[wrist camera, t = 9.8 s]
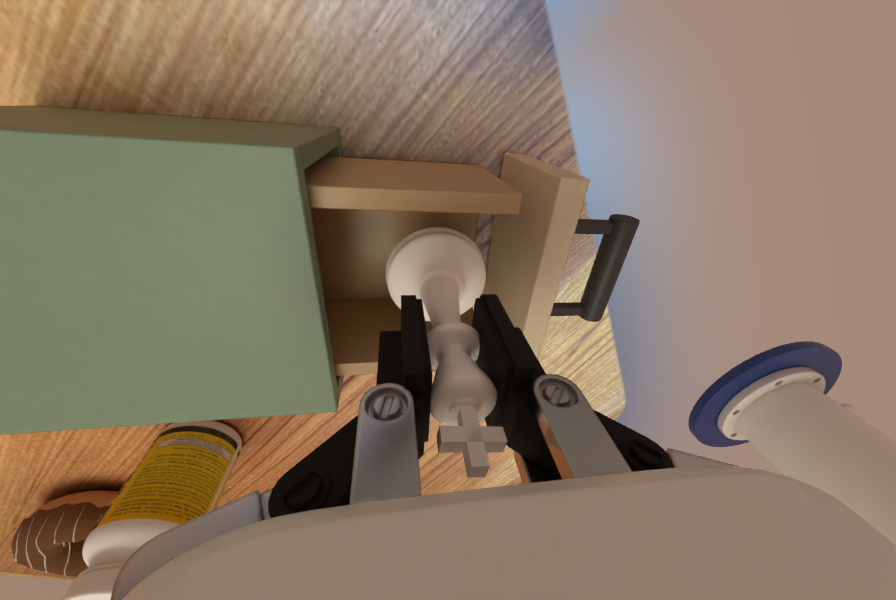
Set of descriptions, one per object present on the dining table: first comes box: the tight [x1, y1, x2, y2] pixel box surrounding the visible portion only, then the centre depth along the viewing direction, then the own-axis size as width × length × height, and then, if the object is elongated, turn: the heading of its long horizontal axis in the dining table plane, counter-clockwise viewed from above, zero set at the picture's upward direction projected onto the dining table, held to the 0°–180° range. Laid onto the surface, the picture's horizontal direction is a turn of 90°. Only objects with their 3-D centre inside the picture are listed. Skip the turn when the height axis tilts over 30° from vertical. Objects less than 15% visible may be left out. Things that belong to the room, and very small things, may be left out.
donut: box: [12, 490, 119, 577], centre depth 29 cm, size 11×11×4 cm
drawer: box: [304, 153, 639, 376], centre depth 17 cm, size 17×10×7 cm, turn 86°
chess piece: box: [386, 227, 507, 477], centre depth 11 cm, size 5×5×10 cm
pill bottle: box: [62, 420, 242, 600], centre depth 23 cm, size 6×6×11 cm
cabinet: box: [0, 106, 344, 435], centre depth 15 cm, size 14×12×9 cm
